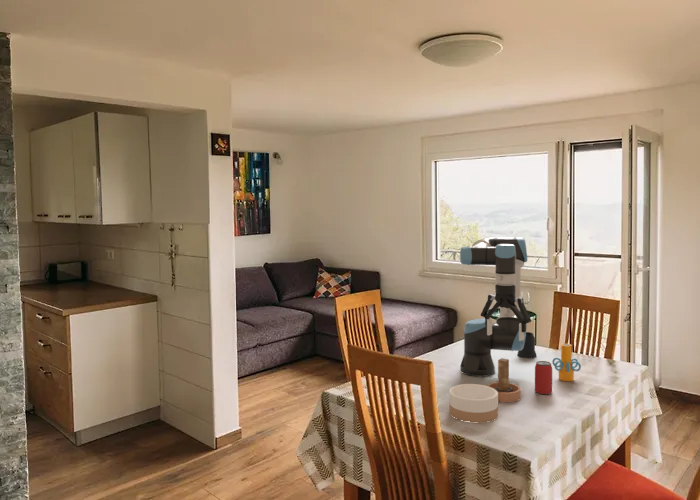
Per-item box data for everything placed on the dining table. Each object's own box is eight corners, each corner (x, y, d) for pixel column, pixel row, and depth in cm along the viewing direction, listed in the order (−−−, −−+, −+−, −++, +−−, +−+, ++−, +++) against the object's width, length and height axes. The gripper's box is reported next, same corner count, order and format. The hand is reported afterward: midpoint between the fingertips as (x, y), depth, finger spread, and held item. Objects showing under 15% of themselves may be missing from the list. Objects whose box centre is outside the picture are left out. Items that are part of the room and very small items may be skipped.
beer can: (543, 396, 217) (544, 366, 216) (531, 391, 222) (531, 362, 221) (555, 393, 220) (556, 363, 219) (542, 388, 226) (543, 359, 224)
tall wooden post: (498, 394, 217) (498, 360, 216) (501, 392, 220) (501, 358, 218) (505, 396, 215) (505, 361, 214) (508, 394, 218) (508, 359, 216)
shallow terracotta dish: (481, 397, 217) (481, 388, 217) (496, 388, 226) (496, 380, 226) (511, 404, 209) (511, 395, 208) (526, 395, 218) (526, 386, 218)
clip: (494, 395, 217) (494, 388, 217) (500, 391, 221) (500, 385, 221) (506, 398, 214) (506, 391, 214) (512, 394, 218) (512, 388, 217)
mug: (536, 359, 266) (536, 336, 265) (516, 357, 270) (516, 334, 269) (537, 352, 277) (537, 330, 276) (518, 351, 281) (518, 329, 280)
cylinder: (582, 384, 229) (582, 349, 227) (555, 383, 231) (556, 348, 230) (576, 375, 241) (576, 341, 239) (551, 374, 243) (551, 340, 242)
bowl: (467, 426, 190) (467, 403, 189) (440, 410, 205) (440, 388, 205) (508, 418, 196) (508, 395, 196) (478, 402, 212) (478, 381, 211)
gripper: (472, 282, 221) (472, 334, 223) (531, 288, 204) (531, 344, 206) (481, 279, 227) (481, 330, 229) (540, 285, 210) (539, 340, 212)
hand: (505, 337), depth 218 cm, fingers open, 13 cm apart
